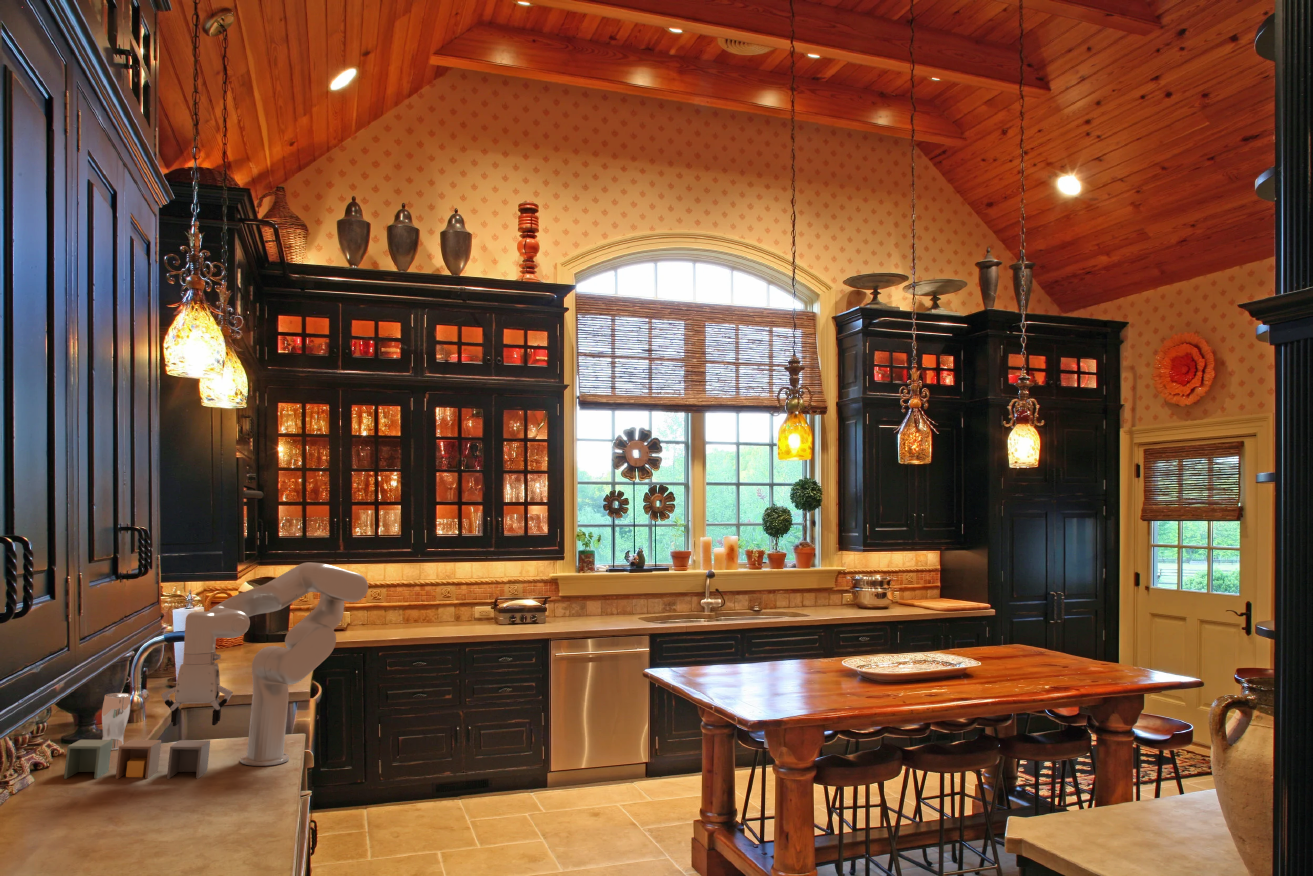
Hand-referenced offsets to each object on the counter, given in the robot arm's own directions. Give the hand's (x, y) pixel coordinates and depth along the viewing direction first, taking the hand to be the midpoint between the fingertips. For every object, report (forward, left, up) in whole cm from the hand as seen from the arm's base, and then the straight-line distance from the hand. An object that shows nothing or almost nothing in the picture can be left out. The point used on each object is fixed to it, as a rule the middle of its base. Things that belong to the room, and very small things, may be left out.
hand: (195, 724), depth 241 cm
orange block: (+1, -13, -13) cm, 18 cm away
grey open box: (+1, -1, -13) cm, 13 cm away
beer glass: (-29, -30, -13) cm, 44 cm away
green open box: (+1, -25, -13) cm, 28 cm away
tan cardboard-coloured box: (+1, -13, -13) cm, 18 cm away
